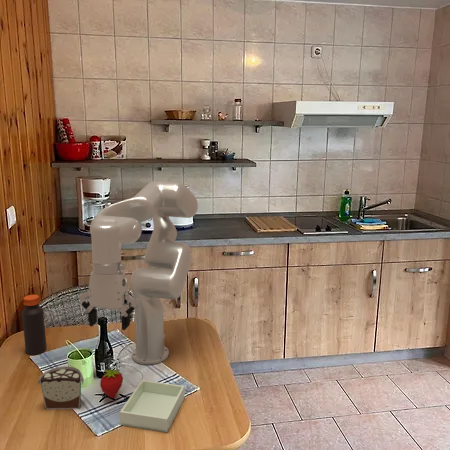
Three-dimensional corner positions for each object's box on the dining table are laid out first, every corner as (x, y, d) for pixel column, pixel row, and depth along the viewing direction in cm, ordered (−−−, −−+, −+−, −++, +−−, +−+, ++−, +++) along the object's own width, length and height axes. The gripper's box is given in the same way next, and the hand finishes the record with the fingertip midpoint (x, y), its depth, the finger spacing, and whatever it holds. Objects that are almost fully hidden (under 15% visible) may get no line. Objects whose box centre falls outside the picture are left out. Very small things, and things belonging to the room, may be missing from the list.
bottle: (27, 357, 152) (21, 302, 148) (24, 348, 158) (19, 295, 153) (48, 352, 156) (43, 298, 151) (44, 344, 161) (40, 292, 157)
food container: (90, 395, 132) (88, 365, 130) (84, 408, 126) (82, 377, 124) (48, 396, 131) (45, 365, 129) (40, 409, 125) (37, 377, 123)
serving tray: (142, 391, 134) (141, 380, 133) (184, 398, 131) (184, 385, 130) (120, 425, 119) (119, 411, 118) (167, 432, 117) (167, 419, 116)
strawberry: (96, 402, 129) (94, 371, 126) (111, 388, 135) (109, 358, 133) (113, 407, 127) (112, 376, 124) (128, 392, 133) (126, 362, 131)
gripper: (142, 266, 123) (143, 324, 127) (84, 261, 127) (87, 317, 130) (131, 274, 116) (132, 335, 120) (70, 268, 119) (73, 328, 123)
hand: (109, 326), depth 125 cm, fingers open, 9 cm apart
